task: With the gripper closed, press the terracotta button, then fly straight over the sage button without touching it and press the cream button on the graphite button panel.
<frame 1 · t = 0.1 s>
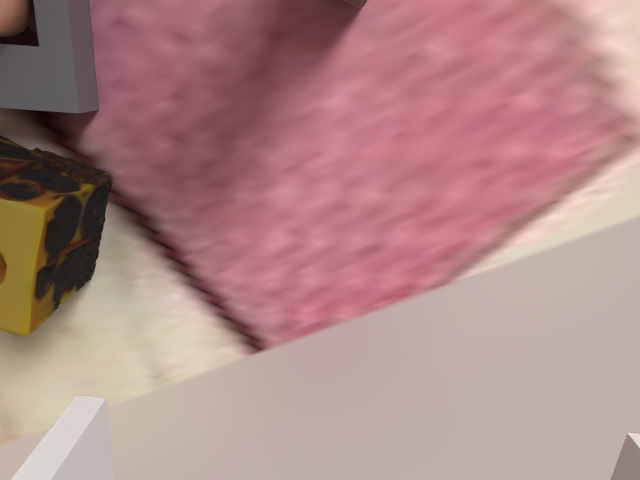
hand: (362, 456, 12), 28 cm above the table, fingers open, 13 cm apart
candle: (47, 208, 40), on the table
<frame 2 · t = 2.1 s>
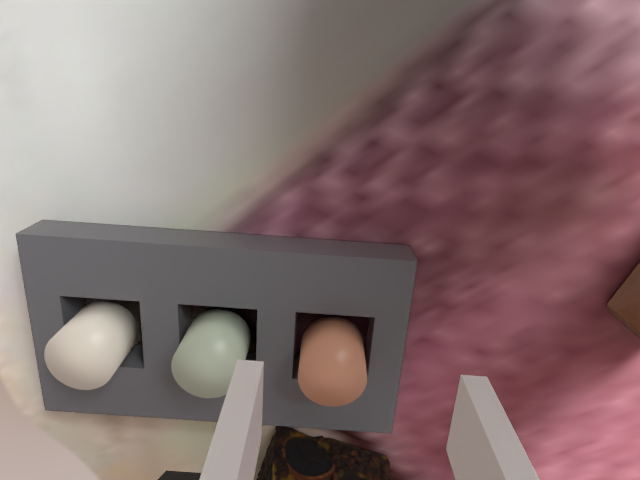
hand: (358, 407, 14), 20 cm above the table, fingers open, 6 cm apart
terracotta button: (332, 359, 31), point 4 cm above the table, slide at 0.0 cm
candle: (315, 478, 41), on the table
cream button: (94, 343, 31), point 4 cm above the table, slide at 0.0 cm
panel: (226, 319, 35), on the table
sage button: (213, 351, 31), point 4 cm above the table, slide at 0.0 cm
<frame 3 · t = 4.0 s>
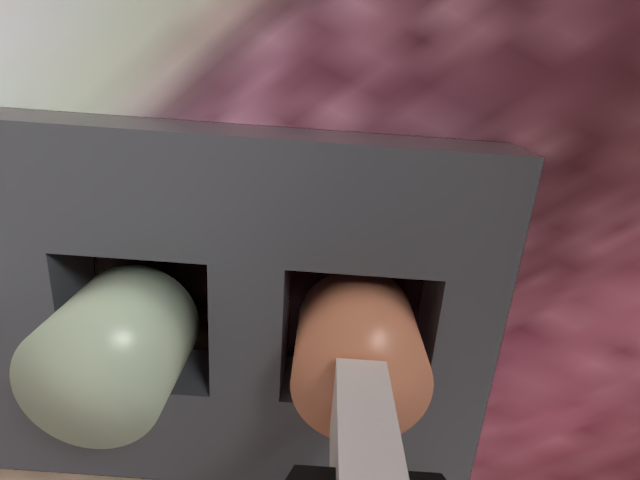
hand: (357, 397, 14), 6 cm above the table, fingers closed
terracotta button: (358, 350, 16), point 3 cm above the table, slide at -1.0 cm, touching gripper
panel: (161, 291, 19), on the table
sage button: (116, 350, 15), point 4 cm above the table, slide at 0.0 cm
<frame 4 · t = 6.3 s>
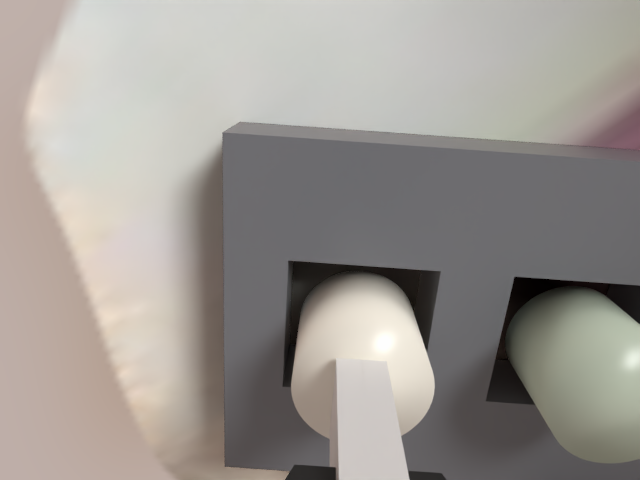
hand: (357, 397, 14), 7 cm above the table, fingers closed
cream button: (359, 352, 16), point 4 cm above the table, slide at 0.0 cm, touching gripper
panel: (538, 308, 20), on the table
sage button: (589, 368, 16), point 4 cm above the table, slide at 0.0 cm
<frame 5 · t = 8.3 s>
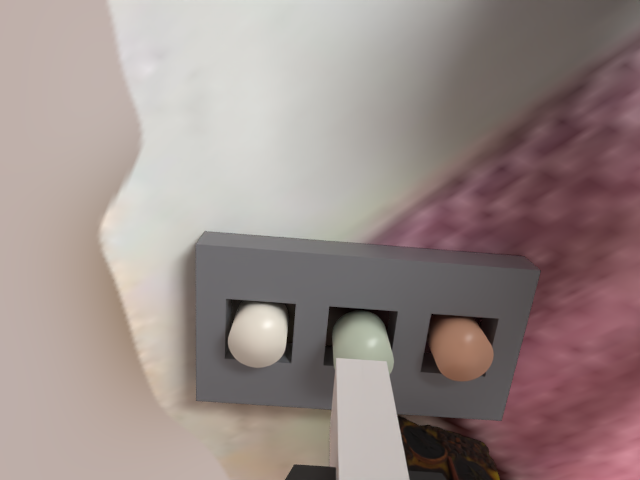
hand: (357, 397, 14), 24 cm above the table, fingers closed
terracotta button: (457, 343, 38), point 3 cm above the table, slide at -1.7 cm
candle: (417, 464, 46), on the table
cream button: (260, 329, 37), point 3 cm above the table, slide at -1.7 cm
panel: (356, 320, 40), on the table
sage button: (361, 347, 36), point 4 cm above the table, slide at 0.0 cm
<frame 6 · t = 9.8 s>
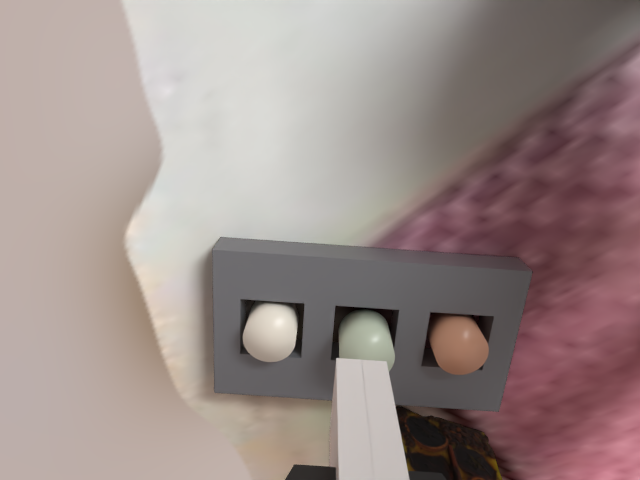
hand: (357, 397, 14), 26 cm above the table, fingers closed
terracotta button: (455, 339, 41), point 3 cm above the table, slide at -1.7 cm
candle: (421, 452, 49), on the table
cream button: (272, 327, 41), point 3 cm above the table, slide at -1.7 cm
panel: (362, 318, 43), on the table
sage button: (365, 343, 39), point 4 cm above the table, slide at 0.0 cm
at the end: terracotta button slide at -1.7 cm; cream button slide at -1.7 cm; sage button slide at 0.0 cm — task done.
